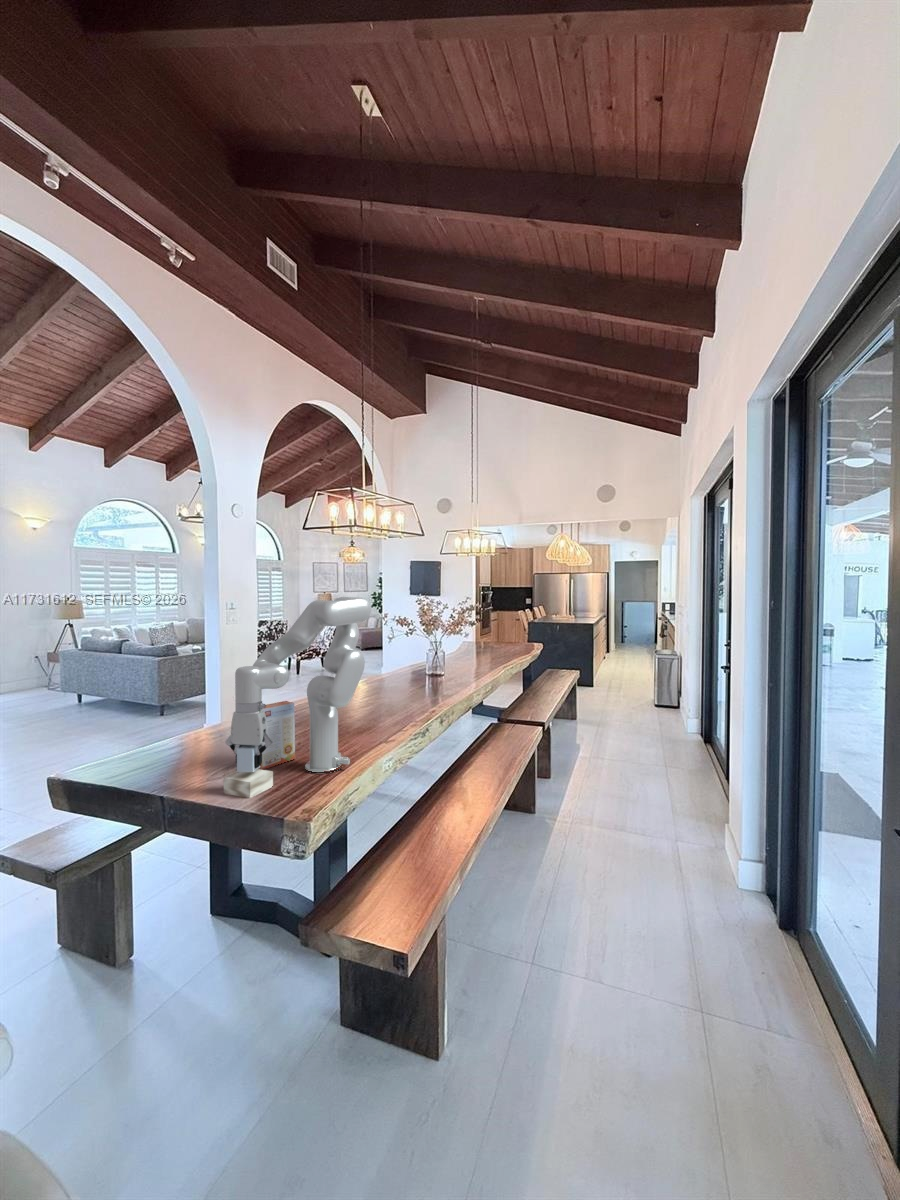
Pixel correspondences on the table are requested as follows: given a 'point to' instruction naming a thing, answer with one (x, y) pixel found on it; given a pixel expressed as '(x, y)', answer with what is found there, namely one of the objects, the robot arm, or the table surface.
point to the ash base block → (248, 783)
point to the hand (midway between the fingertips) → (248, 765)
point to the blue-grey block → (246, 758)
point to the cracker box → (279, 734)
